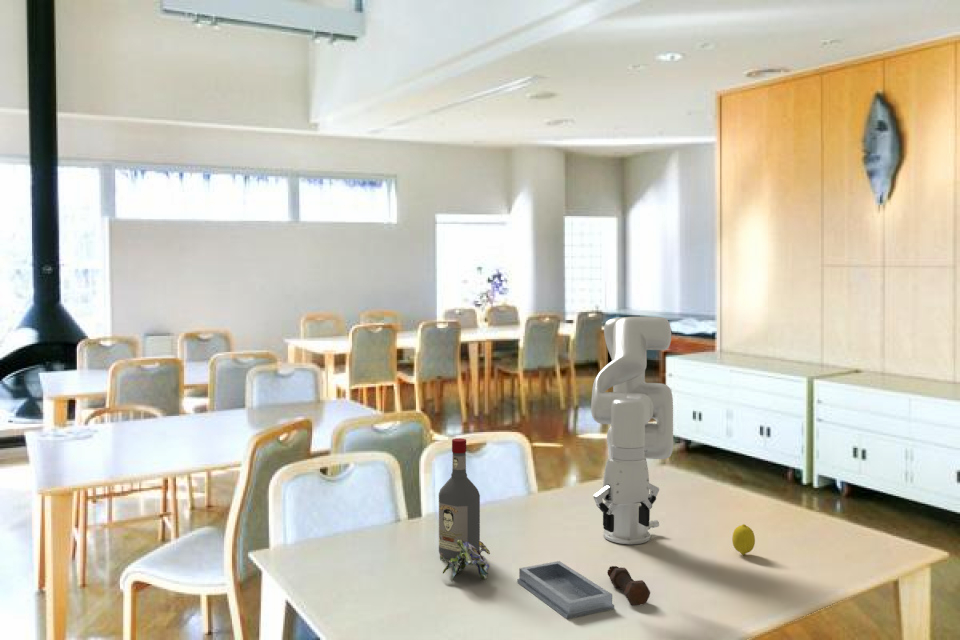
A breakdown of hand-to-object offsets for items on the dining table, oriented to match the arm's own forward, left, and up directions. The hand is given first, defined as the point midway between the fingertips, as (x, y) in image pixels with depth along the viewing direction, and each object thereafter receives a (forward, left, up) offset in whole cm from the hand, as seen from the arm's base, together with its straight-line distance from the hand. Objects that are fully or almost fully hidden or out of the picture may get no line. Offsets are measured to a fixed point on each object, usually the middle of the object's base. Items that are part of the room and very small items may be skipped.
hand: (626, 527), depth 187 cm
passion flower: (+30, -22, -15) cm, 40 cm away
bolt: (0, 0, -15) cm, 15 cm away
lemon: (-41, -6, -15) cm, 44 cm away
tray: (+14, -4, -15) cm, 21 cm away
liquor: (+25, -37, -15) cm, 47 cm away
